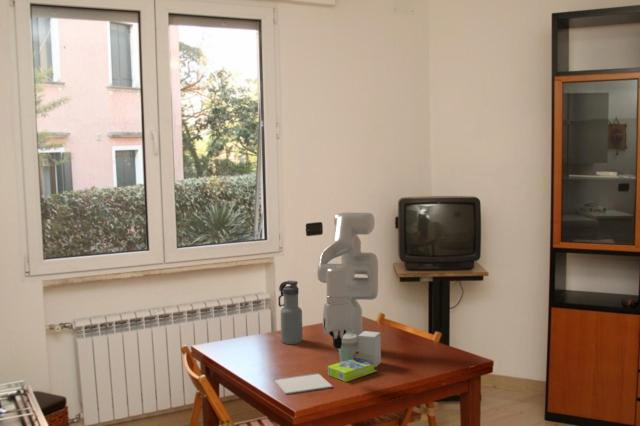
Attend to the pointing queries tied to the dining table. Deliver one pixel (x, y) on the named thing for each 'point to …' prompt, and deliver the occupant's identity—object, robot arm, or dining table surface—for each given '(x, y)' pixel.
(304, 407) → the dining table surface
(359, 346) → the supplement box
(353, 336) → the coffee cup
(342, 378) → the box
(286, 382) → the mat
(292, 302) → the water bottle
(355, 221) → the robot arm
